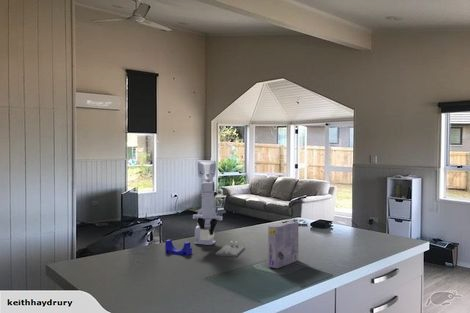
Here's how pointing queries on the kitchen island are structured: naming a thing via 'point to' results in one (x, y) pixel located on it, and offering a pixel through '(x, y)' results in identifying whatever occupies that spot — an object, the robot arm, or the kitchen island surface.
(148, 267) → the kitchen island surface
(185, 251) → the cable clip
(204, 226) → the robot arm
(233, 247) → the pin tray
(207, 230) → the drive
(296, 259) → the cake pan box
